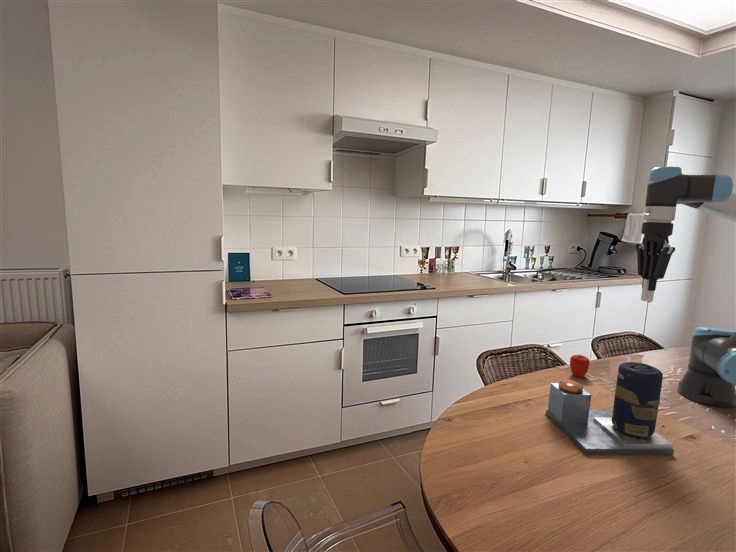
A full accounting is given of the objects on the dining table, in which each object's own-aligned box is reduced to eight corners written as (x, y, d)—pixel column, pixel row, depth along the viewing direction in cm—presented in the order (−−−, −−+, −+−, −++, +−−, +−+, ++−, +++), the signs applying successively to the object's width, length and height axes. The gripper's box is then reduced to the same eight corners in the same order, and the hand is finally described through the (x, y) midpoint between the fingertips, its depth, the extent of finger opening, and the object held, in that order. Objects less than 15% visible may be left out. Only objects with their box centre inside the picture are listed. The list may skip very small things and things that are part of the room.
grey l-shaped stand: (619, 414, 120) (623, 383, 118) (673, 455, 100) (679, 418, 99) (545, 413, 119) (549, 382, 117) (585, 454, 99) (590, 417, 97)
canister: (661, 442, 101) (672, 372, 98) (618, 437, 103) (628, 368, 100) (643, 423, 110) (653, 359, 107) (605, 418, 112) (613, 355, 109)
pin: (572, 408, 118) (575, 380, 116) (583, 419, 112) (587, 389, 110) (551, 408, 117) (554, 379, 116) (562, 419, 111) (566, 388, 110)
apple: (570, 371, 153) (572, 351, 152) (588, 375, 149) (591, 355, 148) (566, 376, 148) (569, 356, 147) (586, 380, 144) (588, 360, 143)
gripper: (630, 220, 127) (620, 296, 130) (662, 221, 114) (650, 305, 117) (653, 221, 127) (643, 296, 131) (688, 222, 114) (675, 305, 118)
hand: (646, 300), depth 124 cm, fingers closed
